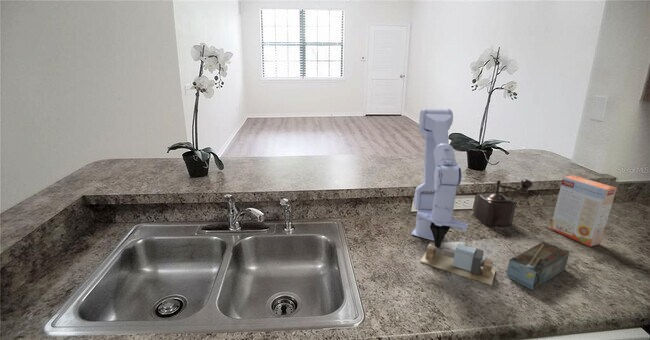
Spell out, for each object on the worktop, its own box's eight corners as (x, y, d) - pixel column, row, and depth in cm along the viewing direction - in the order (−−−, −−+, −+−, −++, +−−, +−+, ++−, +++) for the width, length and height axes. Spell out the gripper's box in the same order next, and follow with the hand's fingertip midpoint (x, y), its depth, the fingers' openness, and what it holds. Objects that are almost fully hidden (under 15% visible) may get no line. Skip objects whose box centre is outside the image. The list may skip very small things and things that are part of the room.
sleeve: (452, 265, 99) (455, 249, 97) (456, 258, 102) (458, 242, 101) (470, 271, 96) (473, 254, 94) (473, 263, 100) (476, 247, 98)
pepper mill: (487, 227, 125) (496, 182, 119) (472, 214, 135) (479, 172, 130) (526, 226, 126) (536, 181, 121) (508, 213, 137) (516, 172, 131)
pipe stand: (420, 262, 102) (421, 249, 101) (427, 250, 109) (429, 238, 107) (491, 285, 92) (494, 271, 91) (495, 270, 98) (498, 257, 97)
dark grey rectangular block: (470, 273, 96) (473, 256, 94) (473, 264, 100) (476, 248, 99) (477, 275, 95) (480, 259, 93) (480, 266, 99) (483, 250, 98)
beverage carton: (504, 276, 97) (508, 256, 95) (538, 257, 106) (543, 239, 104) (532, 291, 90) (537, 270, 88) (566, 270, 100) (571, 250, 98)
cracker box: (601, 244, 114) (618, 187, 108) (589, 247, 112) (606, 189, 106) (560, 226, 126) (573, 174, 120) (549, 229, 124) (562, 176, 118)
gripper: (414, 203, 98) (410, 244, 102) (467, 216, 91) (460, 259, 95) (422, 196, 104) (417, 235, 108) (471, 207, 97) (465, 248, 101)
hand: (437, 245), depth 102 cm, fingers closed
